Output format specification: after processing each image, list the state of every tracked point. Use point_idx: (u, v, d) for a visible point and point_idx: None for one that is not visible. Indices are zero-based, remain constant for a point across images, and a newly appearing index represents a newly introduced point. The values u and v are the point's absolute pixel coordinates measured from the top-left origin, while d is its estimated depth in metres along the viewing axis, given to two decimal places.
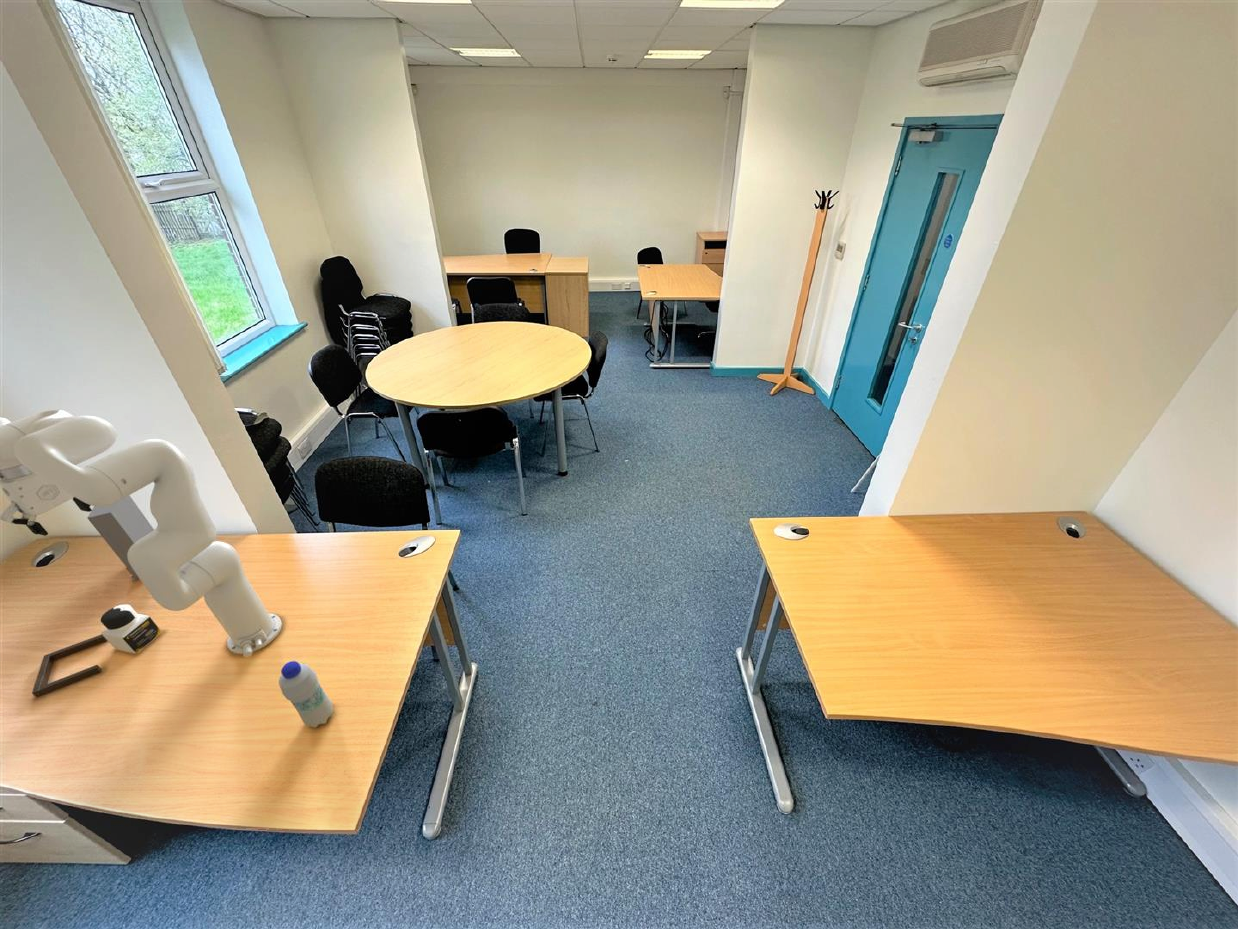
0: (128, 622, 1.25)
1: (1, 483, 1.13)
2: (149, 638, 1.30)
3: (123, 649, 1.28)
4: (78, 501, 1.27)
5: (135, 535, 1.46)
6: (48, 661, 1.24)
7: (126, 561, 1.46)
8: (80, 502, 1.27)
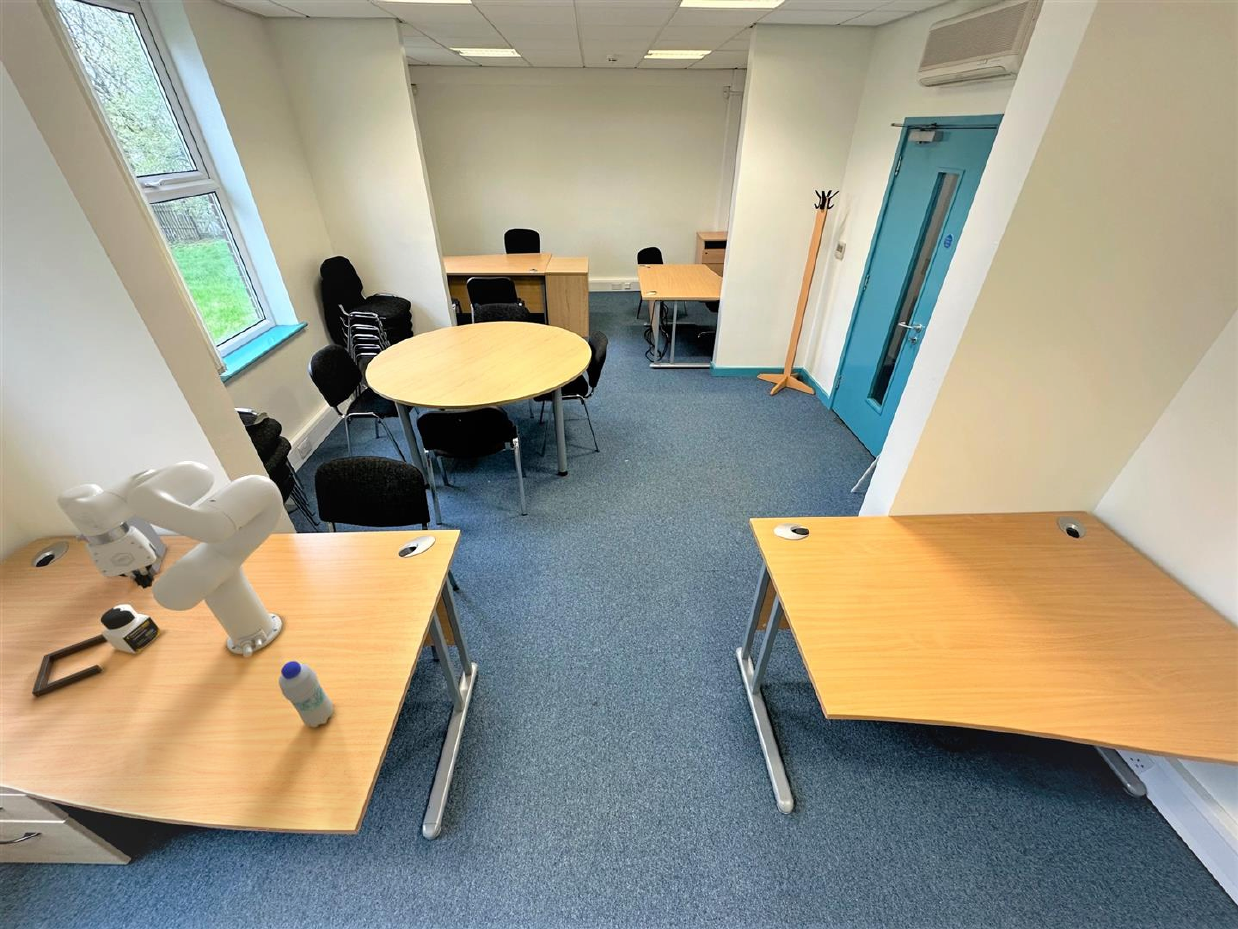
0: (128, 622, 1.25)
1: None
2: (149, 638, 1.30)
3: (123, 649, 1.28)
4: None
5: None
6: (48, 661, 1.24)
7: None
8: None
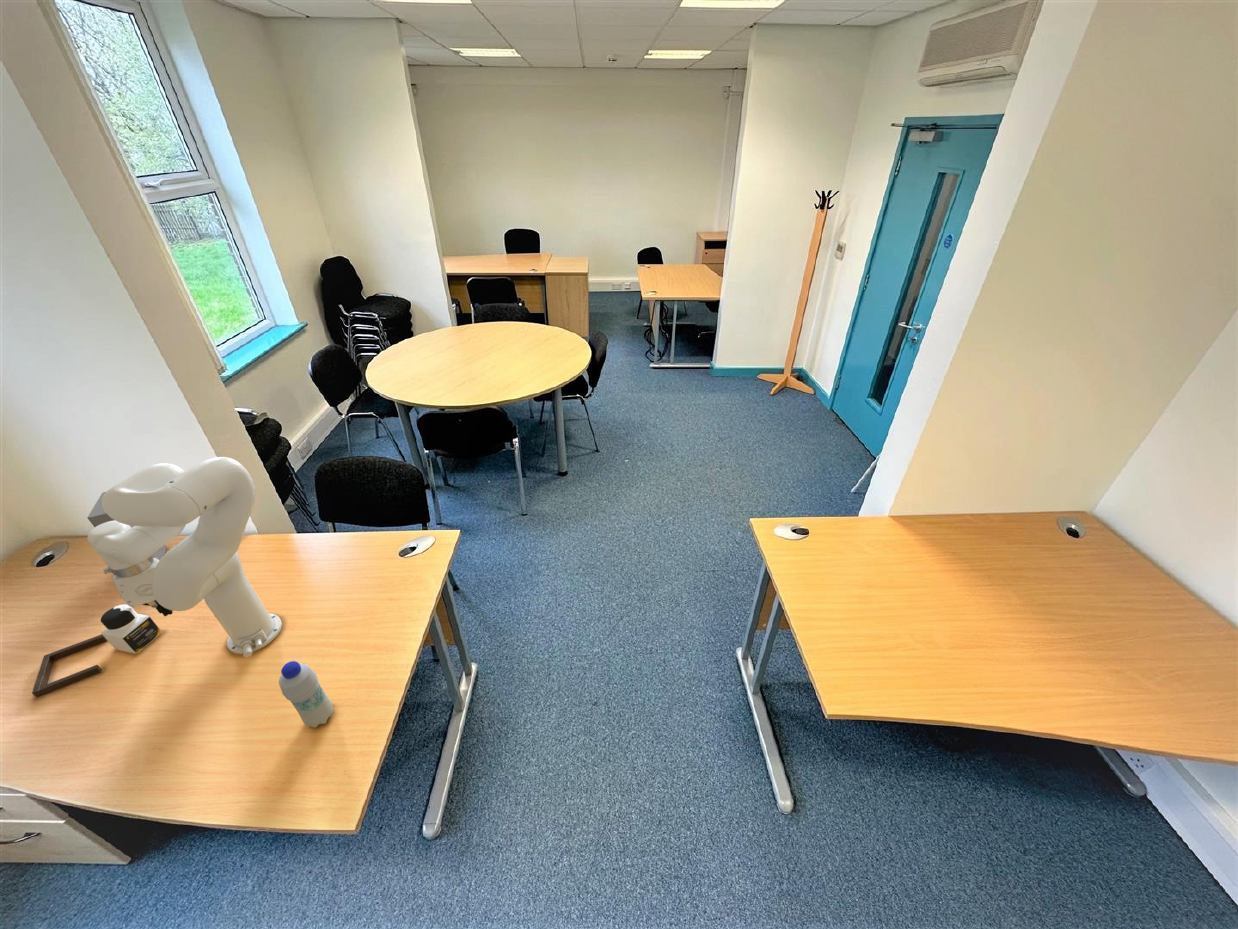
0: (128, 622, 1.25)
1: None
2: (149, 638, 1.30)
3: (123, 649, 1.28)
4: None
5: None
6: (48, 661, 1.24)
7: None
8: None
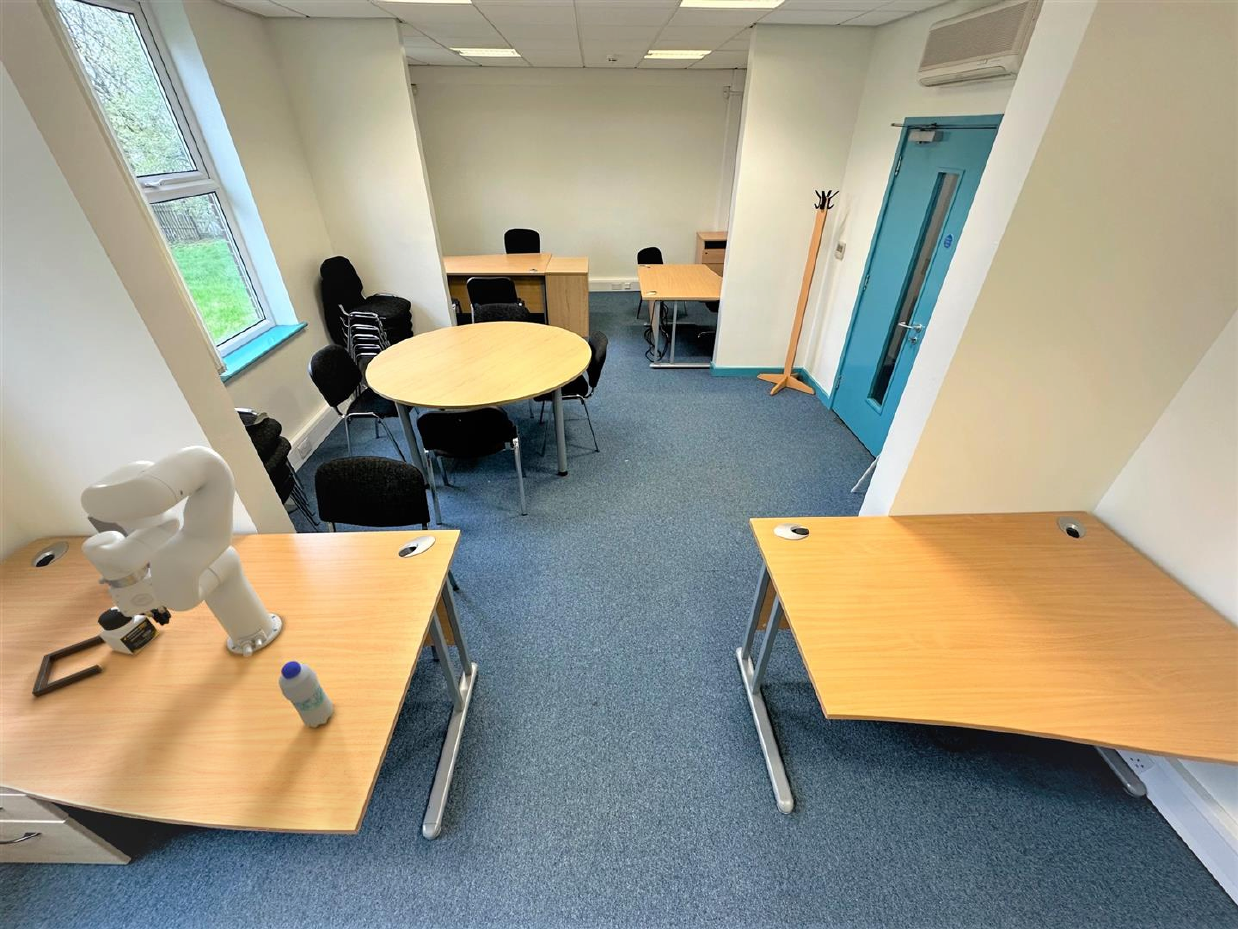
0: (125, 623, 1.25)
1: None
2: (147, 639, 1.30)
3: (120, 650, 1.27)
4: None
5: None
6: (48, 661, 1.24)
7: None
8: None
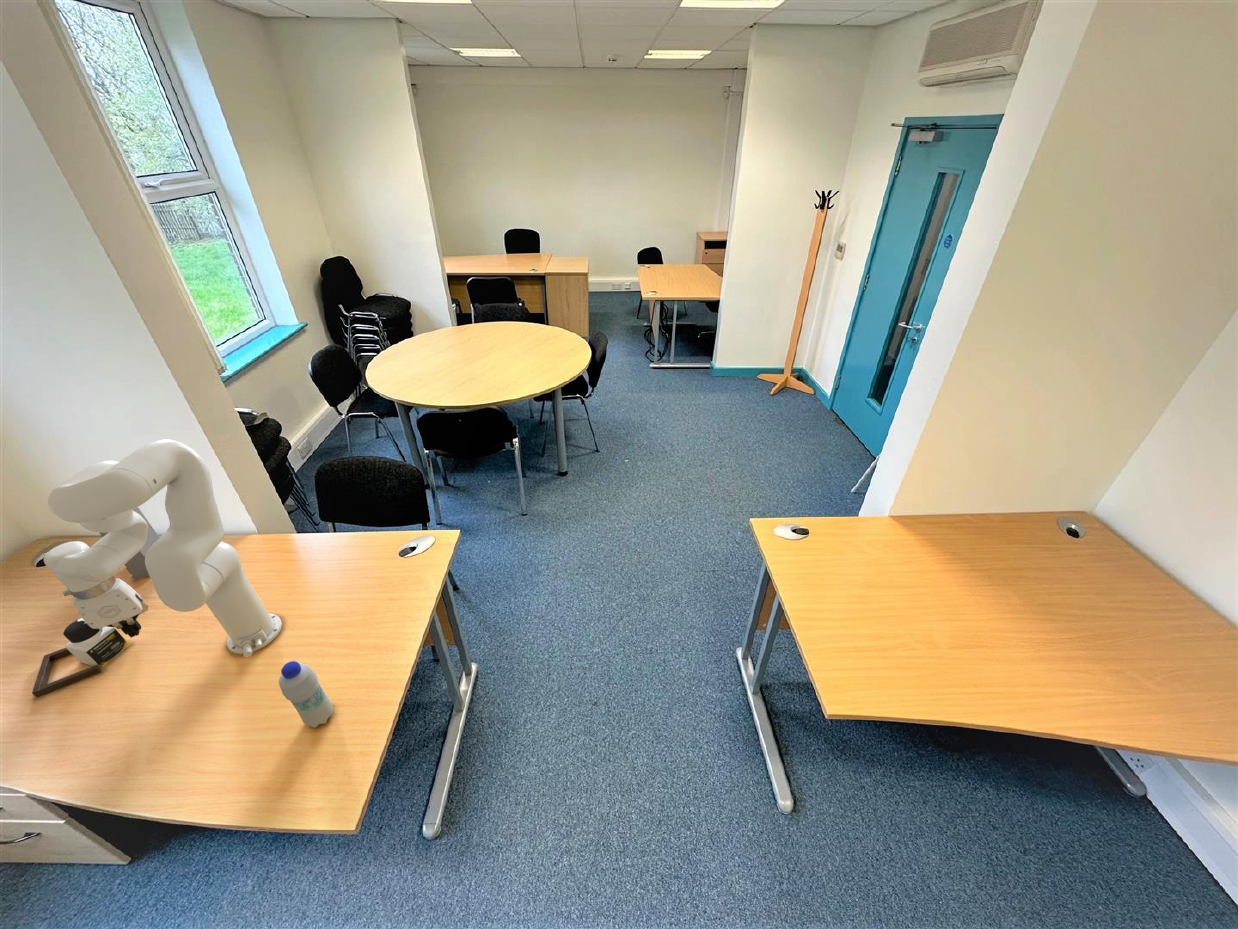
0: (92, 635, 1.22)
1: None
2: (115, 651, 1.27)
3: (88, 662, 1.24)
4: None
5: None
6: (48, 661, 1.24)
7: None
8: None
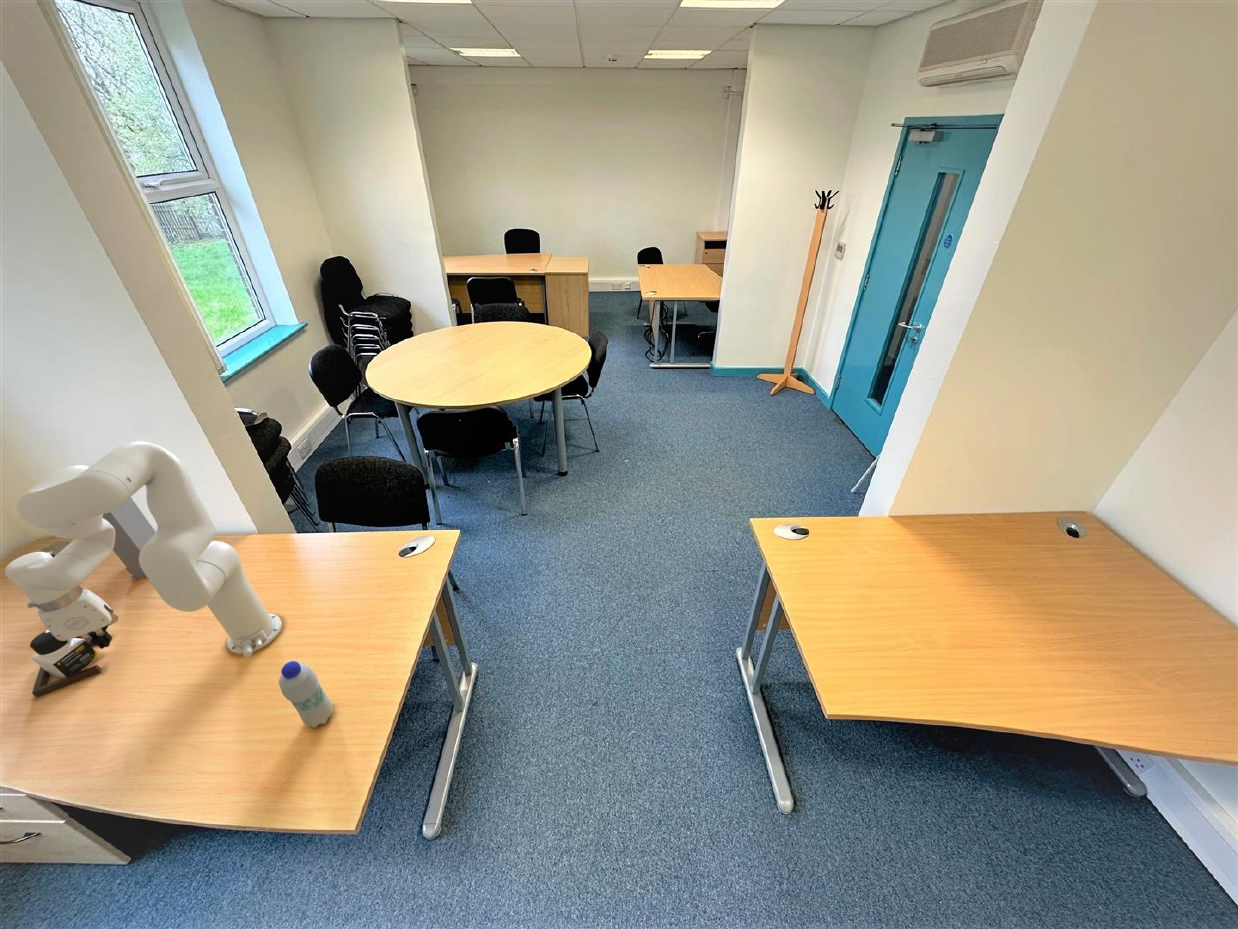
0: (60, 647, 1.19)
1: None
2: (84, 663, 1.24)
3: (56, 674, 1.22)
4: None
5: (135, 535, 1.46)
6: None
7: (126, 561, 1.46)
8: None
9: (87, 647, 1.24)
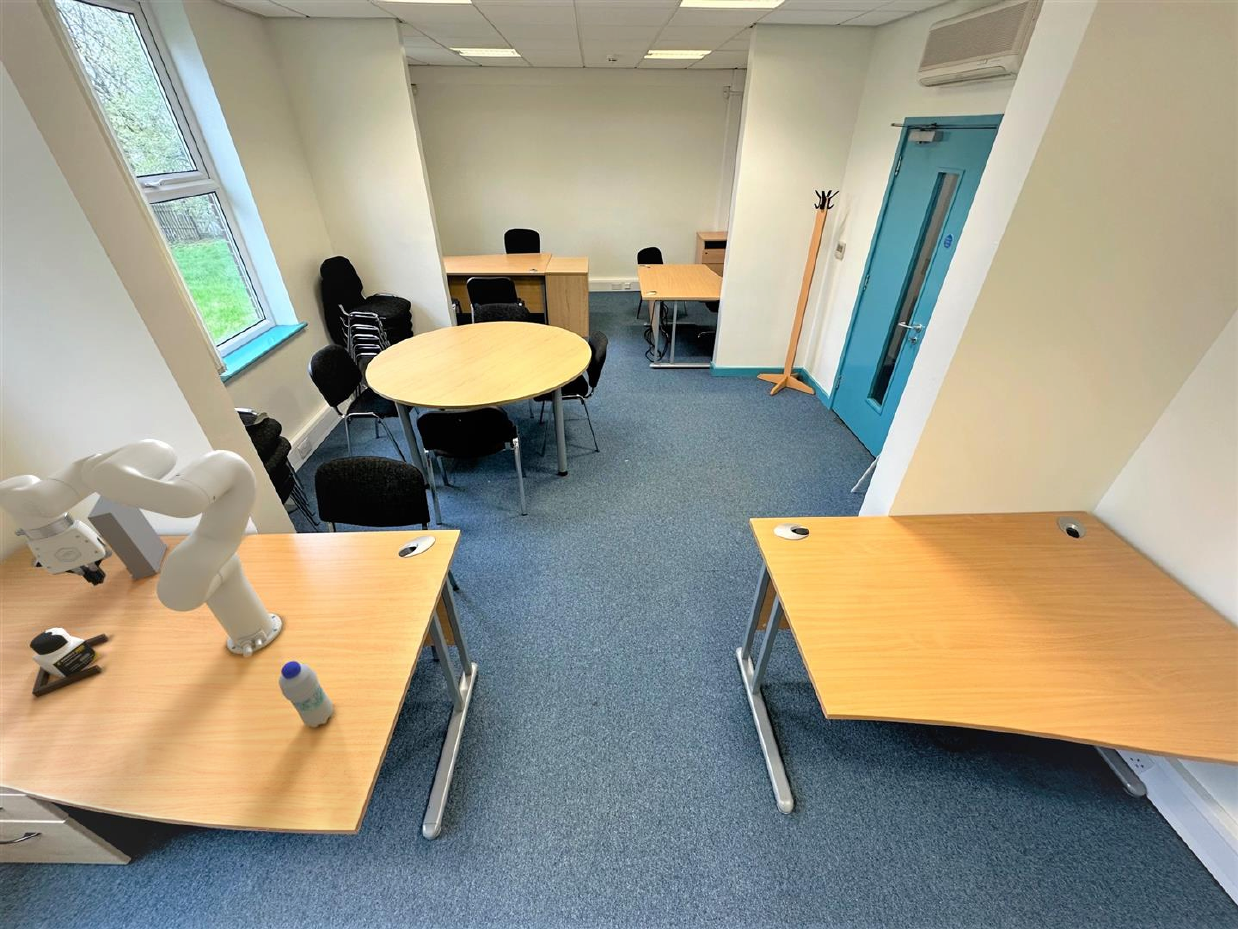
0: (60, 647, 1.19)
1: None
2: (84, 663, 1.24)
3: (56, 674, 1.22)
4: None
5: (135, 535, 1.46)
6: None
7: (126, 561, 1.46)
8: None
9: (87, 647, 1.24)
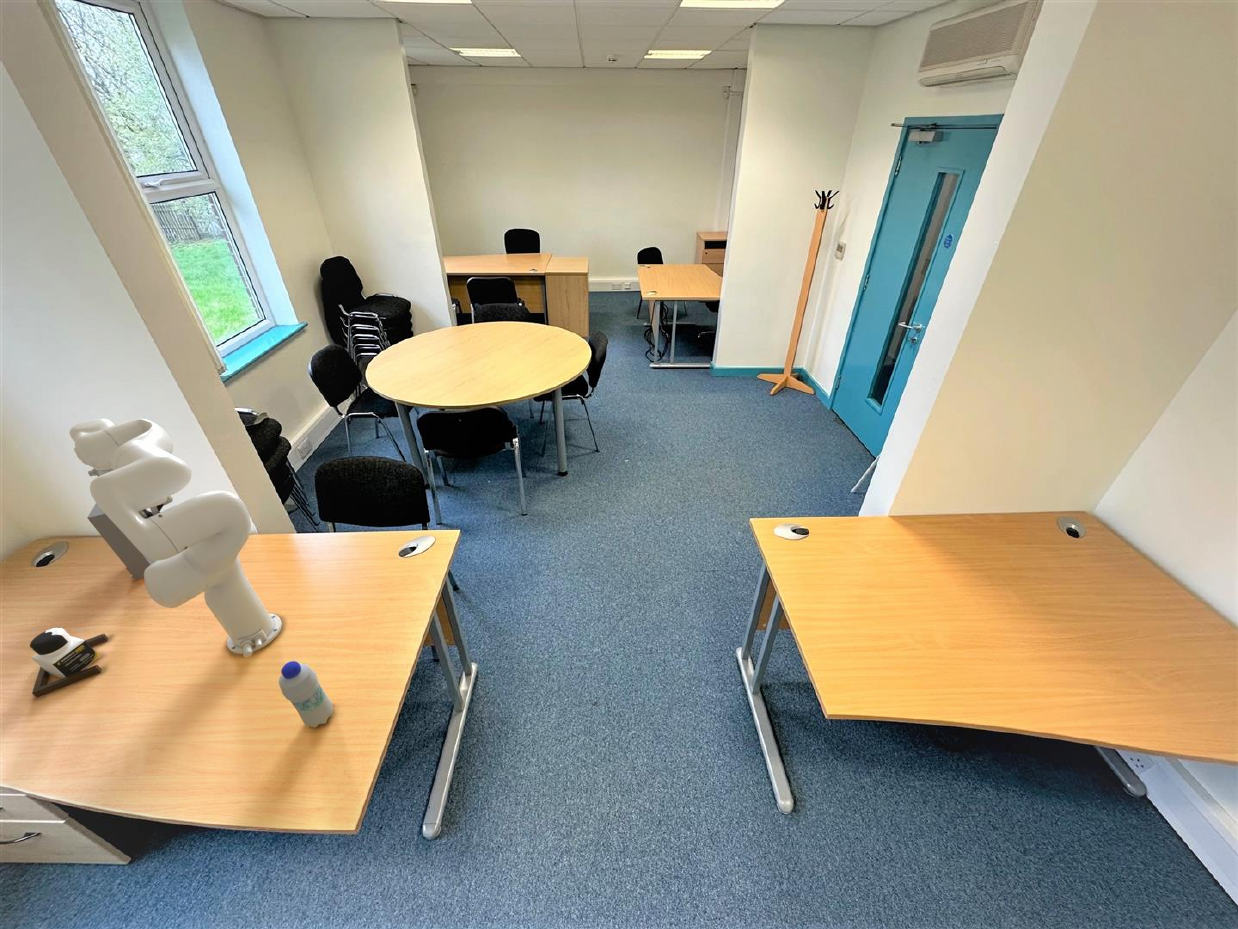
0: (60, 647, 1.19)
1: None
2: (84, 663, 1.24)
3: (56, 674, 1.22)
4: None
5: None
6: None
7: (126, 561, 1.46)
8: None
9: (87, 647, 1.24)
